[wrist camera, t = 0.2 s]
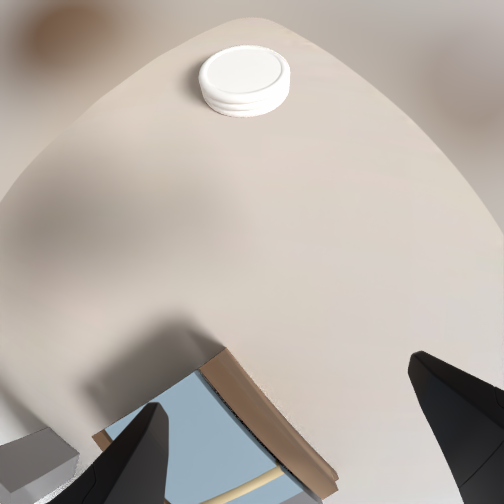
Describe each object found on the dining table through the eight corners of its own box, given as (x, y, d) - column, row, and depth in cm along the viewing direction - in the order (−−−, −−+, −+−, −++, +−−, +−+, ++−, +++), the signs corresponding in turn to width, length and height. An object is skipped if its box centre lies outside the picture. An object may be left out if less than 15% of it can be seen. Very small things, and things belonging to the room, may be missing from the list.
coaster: (192, 80, 30) (185, 61, 27) (264, 55, 30) (263, 35, 27) (222, 133, 28) (217, 112, 24) (305, 101, 28) (308, 80, 25)
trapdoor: (231, 530, 17) (227, 549, 14) (120, 418, 20) (103, 429, 17) (318, 490, 18) (324, 509, 15) (203, 364, 21) (192, 372, 18)
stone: (79, 453, 21) (10, 493, 9) (73, 476, 20) (12, 516, 8) (48, 427, 22) (-24, 453, 10) (44, 451, 21) (-20, 480, 9)
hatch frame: (222, 527, 19) (215, 555, 14) (117, 420, 22) (91, 436, 17) (335, 471, 20) (347, 498, 15) (226, 347, 23) (215, 356, 18)
